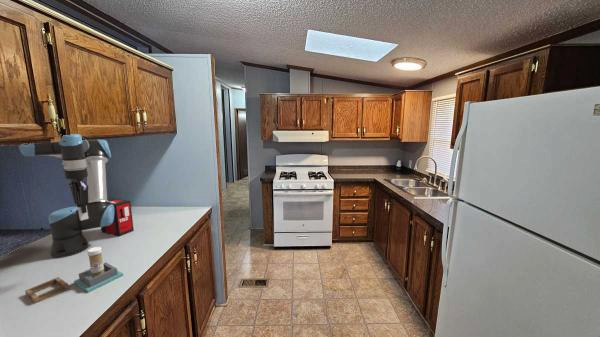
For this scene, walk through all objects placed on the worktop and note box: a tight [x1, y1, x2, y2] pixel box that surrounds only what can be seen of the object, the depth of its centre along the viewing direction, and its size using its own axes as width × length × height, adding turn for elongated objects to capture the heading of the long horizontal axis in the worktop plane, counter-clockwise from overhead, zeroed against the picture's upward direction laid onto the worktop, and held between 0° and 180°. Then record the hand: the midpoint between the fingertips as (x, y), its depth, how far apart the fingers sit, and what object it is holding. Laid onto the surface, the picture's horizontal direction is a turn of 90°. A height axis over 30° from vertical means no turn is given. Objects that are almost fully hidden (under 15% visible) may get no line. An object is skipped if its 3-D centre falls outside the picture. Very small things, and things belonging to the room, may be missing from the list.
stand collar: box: [24, 276, 70, 304], centre depth 99 cm, size 10×10×2 cm
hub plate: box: [73, 262, 124, 293], centre depth 107 cm, size 13×13×4 cm
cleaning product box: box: [100, 197, 135, 237], centre depth 154 cm, size 16×9×20 cm, turn 70°
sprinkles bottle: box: [87, 246, 104, 278], centre depth 106 cm, size 5×5×14 cm
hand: (84, 219), depth 112 cm, fingers closed
